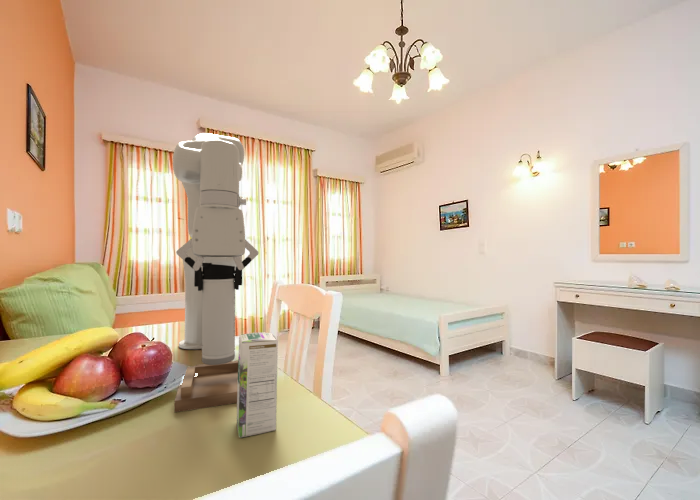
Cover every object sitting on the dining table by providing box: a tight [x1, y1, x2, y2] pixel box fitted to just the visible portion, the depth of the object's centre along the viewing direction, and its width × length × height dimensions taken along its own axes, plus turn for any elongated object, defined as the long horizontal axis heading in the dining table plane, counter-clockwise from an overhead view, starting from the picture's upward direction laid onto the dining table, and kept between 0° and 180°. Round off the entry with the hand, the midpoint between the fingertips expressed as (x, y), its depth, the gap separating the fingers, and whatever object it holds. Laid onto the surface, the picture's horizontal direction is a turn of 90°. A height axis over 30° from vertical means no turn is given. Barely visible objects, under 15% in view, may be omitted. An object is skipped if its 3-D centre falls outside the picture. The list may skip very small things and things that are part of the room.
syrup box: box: [236, 332, 279, 438], centre depth 53 cm, size 6×6×14 cm
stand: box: [173, 360, 238, 413], centre depth 66 cm, size 14×14×4 cm
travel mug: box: [201, 263, 236, 365], centre depth 67 cm, size 6×7×20 cm
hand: (218, 288), depth 67 cm, fingers closed on travel mug, 6 cm apart
